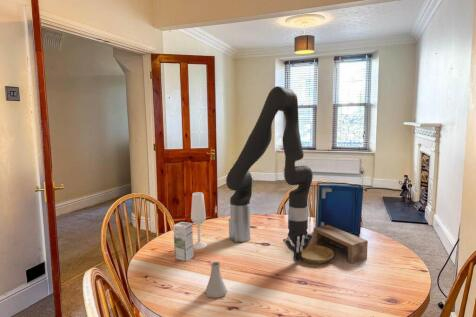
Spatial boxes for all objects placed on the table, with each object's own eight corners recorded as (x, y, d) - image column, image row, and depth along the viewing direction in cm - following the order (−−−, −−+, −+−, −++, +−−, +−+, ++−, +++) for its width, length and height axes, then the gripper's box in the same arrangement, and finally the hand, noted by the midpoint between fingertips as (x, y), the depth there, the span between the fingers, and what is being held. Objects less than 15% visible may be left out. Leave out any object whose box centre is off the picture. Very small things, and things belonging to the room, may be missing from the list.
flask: (205, 287, 105) (204, 259, 103) (226, 286, 105) (226, 258, 104) (204, 299, 97) (203, 269, 96) (227, 298, 98) (227, 268, 97)
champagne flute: (189, 247, 138) (187, 194, 135) (196, 241, 144) (194, 191, 141) (202, 249, 135) (200, 195, 132) (209, 243, 142) (208, 192, 139)
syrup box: (194, 256, 129) (193, 222, 127) (186, 262, 123) (184, 227, 122) (182, 254, 131) (181, 220, 129) (174, 259, 126) (172, 225, 124)
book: (359, 231, 155) (360, 182, 152) (363, 236, 148) (365, 185, 145) (314, 230, 157) (315, 181, 154) (317, 235, 150) (317, 184, 147)
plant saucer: (328, 269, 116) (328, 263, 115) (290, 261, 123) (290, 254, 123) (337, 255, 128) (337, 249, 128) (303, 247, 136) (303, 242, 136)
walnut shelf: (351, 263, 120) (352, 244, 119) (313, 243, 140) (313, 227, 139) (366, 258, 124) (367, 240, 123) (327, 240, 144) (327, 224, 143)
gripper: (305, 212, 126) (304, 253, 128) (278, 217, 120) (278, 260, 122) (317, 217, 119) (317, 260, 121) (289, 222, 113) (289, 267, 115)
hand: (297, 260), depth 121 cm, fingers closed
